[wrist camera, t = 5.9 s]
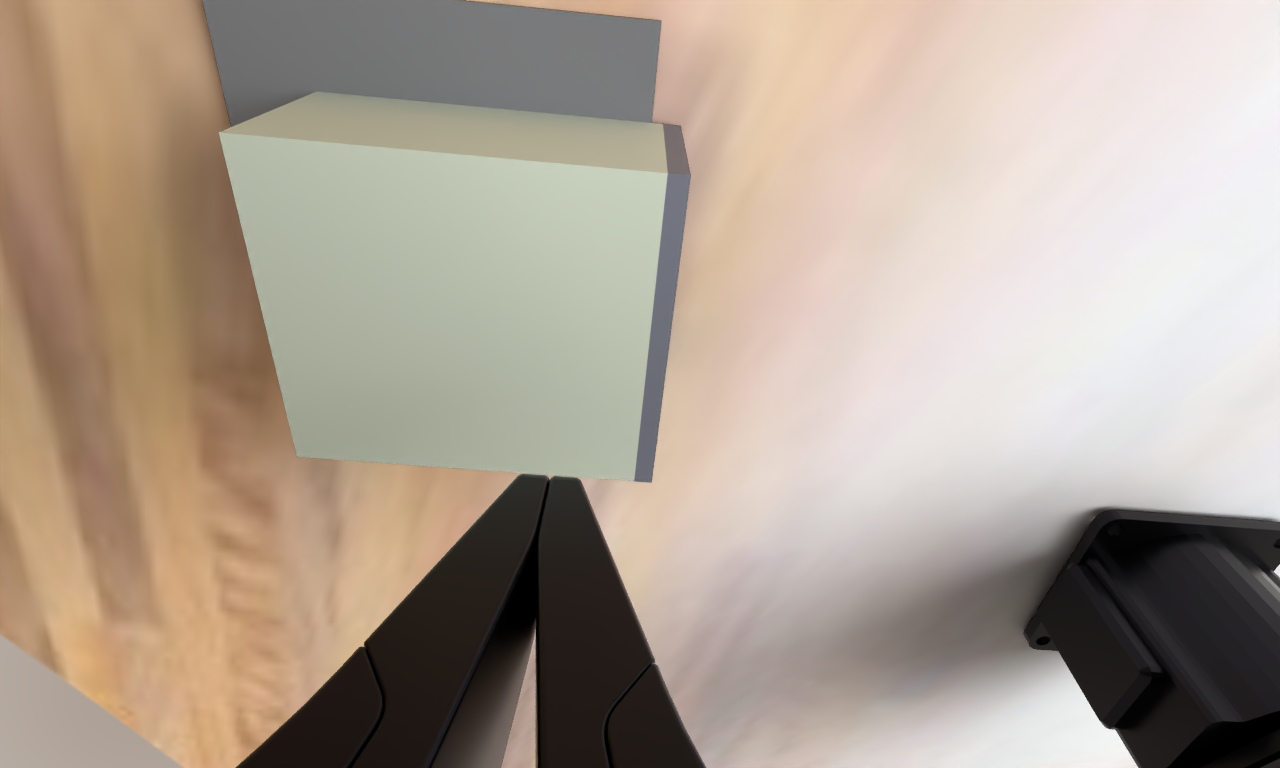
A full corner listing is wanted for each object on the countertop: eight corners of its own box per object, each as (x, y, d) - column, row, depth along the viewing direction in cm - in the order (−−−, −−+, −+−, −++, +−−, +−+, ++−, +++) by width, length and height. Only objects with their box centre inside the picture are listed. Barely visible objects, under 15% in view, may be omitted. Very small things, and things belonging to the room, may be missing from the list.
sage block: (690, 175, 12) (218, 131, 11) (651, 482, 15) (296, 456, 15) (680, 125, 15) (316, 91, 15) (650, 387, 19) (360, 364, 18)
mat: (660, 20, 14) (661, 21, 14) (621, 436, 20) (621, 442, 20) (204, -27, 14) (196, -26, 14) (301, 411, 20) (297, 417, 19)
